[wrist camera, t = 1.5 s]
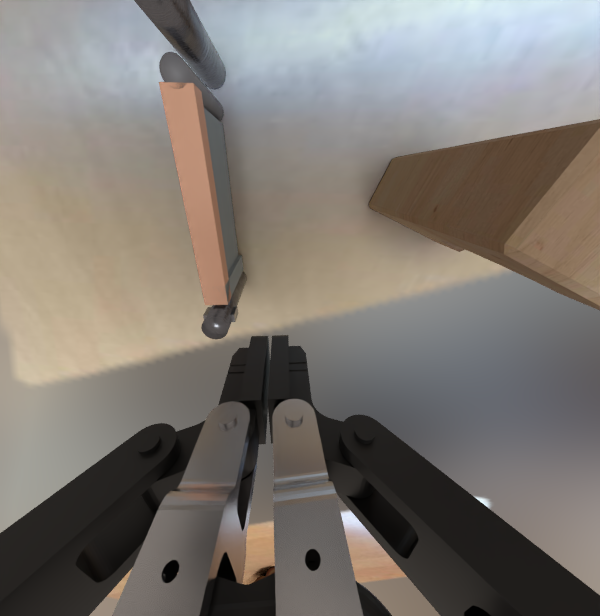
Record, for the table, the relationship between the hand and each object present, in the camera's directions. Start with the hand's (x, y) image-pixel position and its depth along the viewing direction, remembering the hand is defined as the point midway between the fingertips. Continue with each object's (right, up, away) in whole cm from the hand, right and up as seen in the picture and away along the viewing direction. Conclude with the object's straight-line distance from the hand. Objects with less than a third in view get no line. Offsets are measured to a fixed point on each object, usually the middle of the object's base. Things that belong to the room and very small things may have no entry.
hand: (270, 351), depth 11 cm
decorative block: (+15, +14, +17) cm, 27 cm away
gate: (-7, +14, +15) cm, 21 cm away
